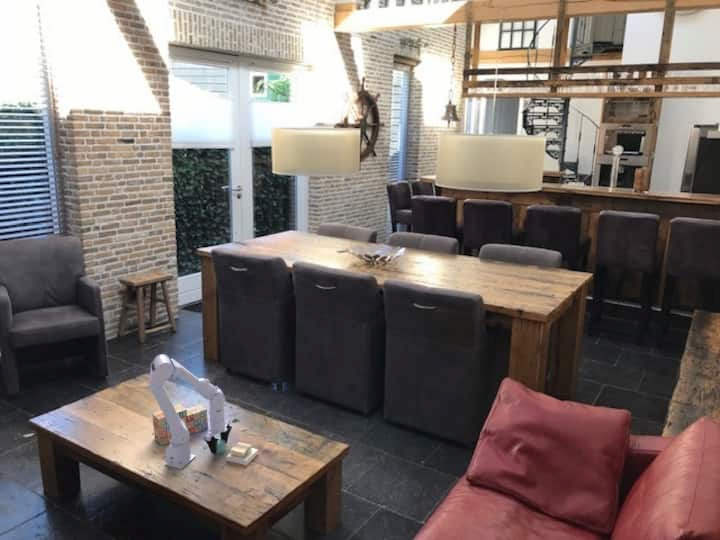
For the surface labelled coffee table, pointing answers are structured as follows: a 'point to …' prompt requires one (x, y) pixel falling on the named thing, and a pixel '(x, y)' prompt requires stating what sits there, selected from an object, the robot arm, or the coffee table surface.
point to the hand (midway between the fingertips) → (219, 447)
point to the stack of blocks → (191, 416)
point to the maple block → (241, 450)
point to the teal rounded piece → (220, 447)
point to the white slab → (241, 460)
